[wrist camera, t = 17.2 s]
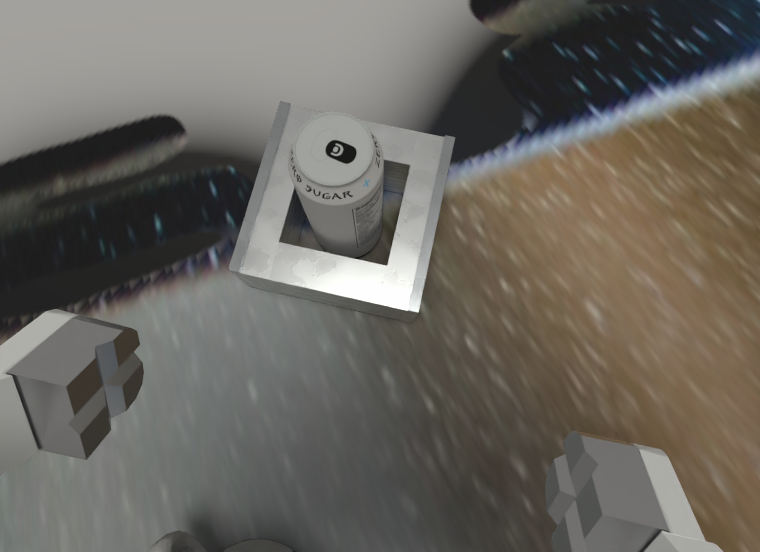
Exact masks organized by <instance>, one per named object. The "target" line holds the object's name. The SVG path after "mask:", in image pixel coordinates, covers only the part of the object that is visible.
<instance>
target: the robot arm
mask: <svg viewBox="0 0 760 552" xmlns="http://www.w3.org/2000/svg"><path fill="white" fill-rule="evenodd" d="M139 345H140V343H139V338H138V333H137V331H136V330H134V329H132V328H129V327H125V326H122V325H118V324H114V323H110V322H106V321H102V320H98V319H94V318H91V317H87V316H83V315H77V314H73V313H69V312H65V311H62V310H58V309H54V310H50V311H46V312H44V313H43V314H42V315H40V316H39V317H38V318H37V319H35V320H34V321H33V322H31V323H30V324H29V325H27V326H26V327H25V328H23V329H22V330H21V331H19V332H18V333H17V334H15V335H14V336H13V337H11V338H10V339H9V340H7V341H6V342H5V343H4V344H2V345H1V346H0V475H2V474H3V473H5V472H7V471H9V470H10V469H12V468H14V467H16V466H17V465H19V464H21V463H23V462H24V461H26V460H28V459H29V458H31V457H33V456H35V455H36V454H38V453H39V450H42V451H47V452H51V453H56V454H60V455H65V456H70V457H74V458H79V459H84V460H87V459H88V458H89V456H90V455H91V454H92V453H93V451H94V450H95V449H96V448H97V446H98V445H99V444H100V443H101V442H102V440H103V439H104V438H105V437H106V435H107V434H108V433H109V432H110V430H111V418H112V417H114V416H116V415H119V414H121V413H123V412H125V411H127V409H128V408H129V407H130V405H131V404H132V403H133V401H134V400H135V399H136V397H137V395H138V392H139V390H140V388H141V385H142V382H143V374H144V370H143V362H142V361H141V360H140V359H139V358H138V357H137V355H136V354H135V353H134V351H135V350H136V349H137V347H138V346H139ZM563 445H564V450H565V454H564V455H562V456H560V457H558V458H556V459H554V461H553V462H552V464H551V466H550V468H549V470H548V474H547V479H546V484H545V500H546V507H547V512H548V514H549V515H550V516H551V518H552V519H553V520H554V522H555V523H556V524H557V528H556V530H555V531H554V533H553V534H552V536H551V539H552V545H553V551H554V552H723V551H722V550H721V549H720V548H719V547H718V546H717V545H716V544H714V543H710V542H707V541H705V538H704V536H703V534H702V532H701V529H700V527H699V525H698V523H697V520H696V518H695V516H694V514H693V512H692V509H691V507H690V505H689V503H688V500H687V498H686V496H685V494H684V491H683V489H682V487H681V485H680V482H679V480H678V478H677V476H676V473H675V471H674V469H673V467H672V464H671V462H670V460H669V458H668V456H667V455H666V454H665V453H664V452H663V451H662V450H661V449H657V448H652V447H648V446H643V445H639V444H634V443H628V442H625V441H621V440H616V439H611V438H607V437H602V436H598V435H593V434H589V433H584V432H580V431H575V430H574V431H573V432H571V433H570V434H569V435H568V436H567V438H566V440H565V441H564V443H563Z"/></svg>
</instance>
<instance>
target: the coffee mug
mask: <svg viewBox="0 0 760 552" xmlns="http://www.w3.org/2000/svg"><path fill="white" fill-rule="evenodd" d="M148 552H207V551H206V550H205V549H204V548H203V547H202V546H201V544H200V543H199V542H198V541H197V540H196V539H195V538H194V537H193V536H192V535H190V534H188V533H186V532H182V531H176V532H172V533H169V534H166V535H165V536H164V537H162V538H161V539H160V540H158V541H157V542H156V543H155V544H154V545H153V546H152V547H151V548H150V549H149V551H148ZM223 552H294V551H293V550H292V549H290V548H289V547H287V546H285V545H284V544H281V543H278V542H275V541H271V540H266V539H253V540H247V541H243V542H240V543H237V544H235V545H233V546H231V547H229V548H227V549H226V550H224V551H223Z"/></svg>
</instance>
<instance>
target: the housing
mask: <svg viewBox="0 0 760 552" xmlns="http://www.w3.org/2000/svg"><path fill="white" fill-rule="evenodd" d="M322 113H325V112H320V111H315V110H310V109H305V108H300V107H295V106H291V105H290V103H286V102H280V104H279V107H278V110H277V114H276V117H275V120H274V123H273V127H272V130H271V133H270V136H269V139H268V143H267V146H266V149H265V152H264V156H263V159H262V162H261V165H260V169H259V172H258V175H257V178H256V182H255V185H254V188H253V191H252V195H251V198H250V201H249V204H248V208H247V211H246V214H245V217H244V221H243V224H242V227H241V230H240V234H239V237H238V240H237V243H236V247H235V250H234V253H233V256H232V260H231V263H230V266H229V269H228V270H229V271H231V272H232V273H233V274H234V275H236V276H237V277H238V278H240V279H241V280H242V281H243V282H245V283H246V284H247V285H249V286H250V287H253V288H257V289H262V290H266V291H271V292H275V293H280V294H284V295H289V296H293V297H297V298H302V299H306V300H311V301H315V302H320V303H324V304H328V305H333V306H337V307H342V308H346V309H351V310H355V311H359V312H364V313H368V314H373V315H377V316H382V317H386V318H391V319H395V320H399V321H404V322H408V323H413V321H414V319H415V318H416V316H417V314H418V312H419V307H420V303H421V298H422V293H423V288H424V283H425V279H426V274H427V269H428V264H429V260H430V255H431V250H432V245H433V240H434V236H435V231H436V226H437V221H438V217H439V212H440V207H441V202H442V197H443V193H444V188H445V183H446V178H447V174H448V169H449V164H450V159H451V154H452V149H453V145H454V140H455V137H451V136H445V137H440V136H436V135H431V134H426V133H421V132H417V131H412V130H406V129H402V128H397V127H392V126H388V125H382V124H378V123H373V122H368V121H363V120H360V121H361V122H363V123H364V125H365V126H366V127H367V128H368V130H370V131H371V132H372V133H373V135H374V136H375V137H376V138H377V140H378V142H379V144H380V145H381V148H382V152H383V158H384V176H383V190H386V191H391V192H396V193H400V194H404V195H403V200H402V204H401V208H400V213H399V217H398V221H397V226H396V230H395V235H394V239H393V243H392V248H391V252H390V256H389V261H388V265H387V266H385V265H381V264H376V263H372V262H367V261H363V260H358V259H353V258H349V257H344V256H340V255H335V254H331V253H326V252H322V251H317V250H313V249H308V248H304V247H299V246H297V244H298V241H299V237H300V233H301V230H302V226H303V222H304V219H305V215H306V213H305V210H304V208H303V206H302V203H301V201H300V198H299V196H298V194H297V191H296V189H295V187H294V184H293V182H292V179H291V177H290V173H289V169H288V158H289V153H290V150H291V147H292V145H293V143H294V139H295V137H296V135H297V132H298V131H299V130H300V128H301V127H302V126H303V125H304V124H305V123H306V122H307V121H308V120H310V119H311V118H313V117H315V116H317V115H319V114H322Z"/></svg>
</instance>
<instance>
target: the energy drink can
mask: <svg viewBox="0 0 760 552" xmlns="http://www.w3.org/2000/svg"><path fill="white" fill-rule="evenodd" d="M288 169H289V173H290V177H291V179H292V182H293V184H294V187H295V189H296V191H297V194H298V196H299V198H300V201H301V203H302V206H303V208H304V210H305V213H306V215H307V218H308V220H309V222H310V225H311V227H312V229H313V232H314V234H315V237H316V239H317V241H318V243H319V244H320V245H321V247H322V248H323V249H324V250H325V251H326V252H328V253H331V254H335V255H340V256H344V257H349V258H356V257H360V256H362V255H364V254H366V253H367V252H369V251H370V250H371V249H372V248H373V247H374V246H375V245H376V243H377V242H378V240H379V238H380V235H381V231H382V211H383V176H384V158H383V152H382V148H381V145H380V144H379V142H378V140H377V138H376V137H375V136H374V135H373V133H372V132H371V131H370V130H368V128H367V127H366V126H365V125H364V123H363V122H361V121H360V120H359V119H357V118H355V117H354V116H352V115H349V114H346V113H342V112H327V113H322V114H319V115H317V116H315V117H313V118H311V119H310V120H308V121H307V122H306V123H305V124H304V125H303V126H302V127H301V128H300V130H299V131H298V132H297V135H296V137H295V139H294V143H293V145H292V147H291V150H290V153H289V158H288Z"/></svg>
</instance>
